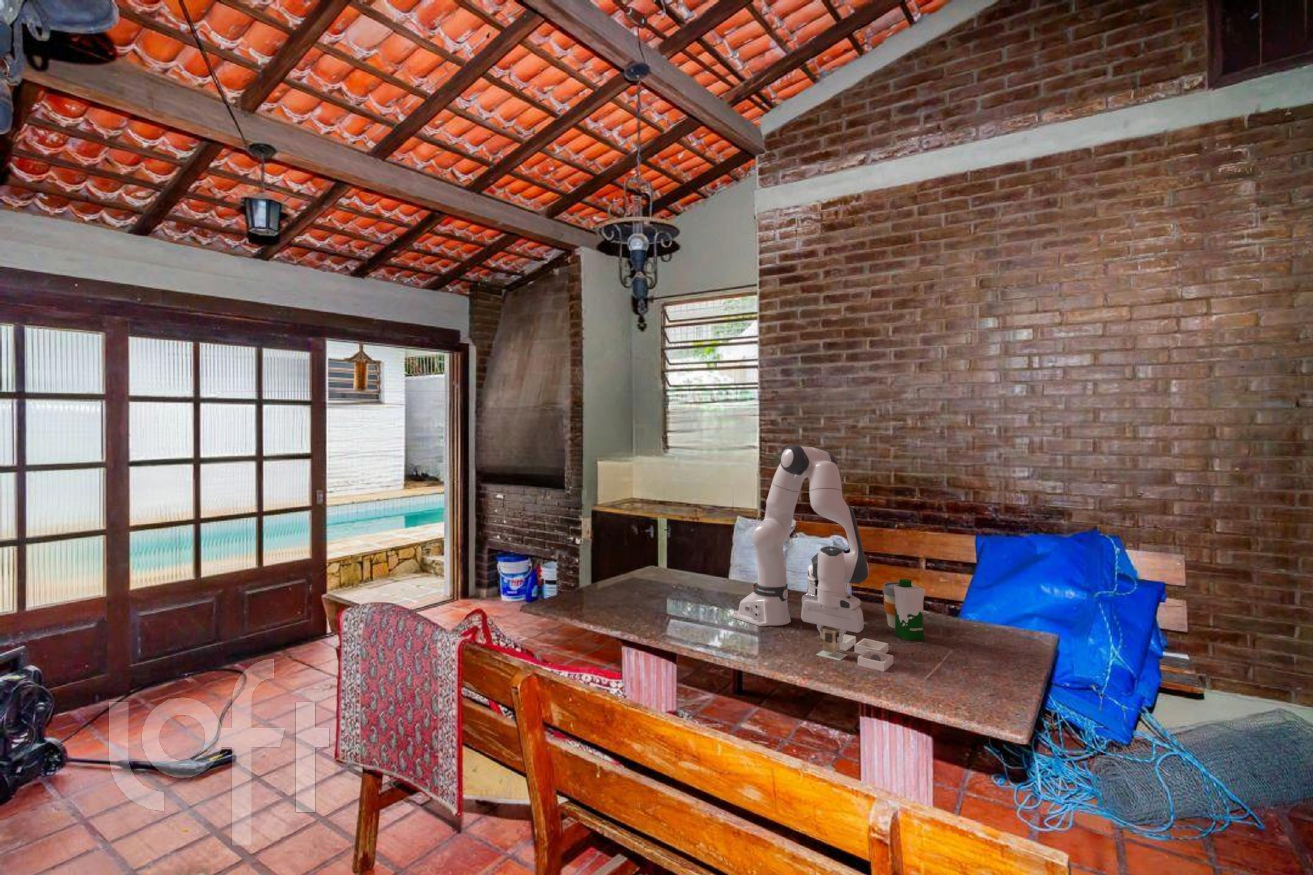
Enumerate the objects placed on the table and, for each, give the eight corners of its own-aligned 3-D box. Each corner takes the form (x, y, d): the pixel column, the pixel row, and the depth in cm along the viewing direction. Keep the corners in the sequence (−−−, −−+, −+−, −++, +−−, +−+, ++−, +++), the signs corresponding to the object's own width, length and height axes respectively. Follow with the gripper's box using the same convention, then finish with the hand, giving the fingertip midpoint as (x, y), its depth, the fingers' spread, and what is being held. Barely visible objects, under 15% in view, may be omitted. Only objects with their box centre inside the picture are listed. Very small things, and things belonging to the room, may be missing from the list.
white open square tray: (823, 646, 211) (823, 637, 211) (833, 640, 218) (833, 631, 218) (846, 651, 206) (846, 642, 206) (855, 645, 213) (855, 636, 212)
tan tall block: (822, 650, 202) (822, 629, 202) (828, 647, 205) (828, 626, 205) (834, 653, 199) (834, 631, 199) (840, 649, 202) (839, 628, 202)
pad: (816, 656, 202) (816, 654, 202) (823, 651, 207) (823, 649, 207) (839, 662, 197) (839, 660, 197) (847, 656, 202) (847, 654, 202)
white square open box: (857, 666, 194) (857, 656, 193) (867, 658, 200) (867, 649, 200) (884, 672, 188) (884, 663, 188) (893, 664, 195) (893, 655, 195)
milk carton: (911, 632, 225) (911, 577, 225) (928, 640, 216) (928, 583, 216) (890, 635, 223) (890, 579, 222) (907, 643, 214) (907, 585, 214)
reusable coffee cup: (919, 622, 236) (919, 583, 236) (918, 632, 225) (918, 591, 225) (884, 618, 242) (884, 580, 241) (881, 628, 230) (881, 588, 230)
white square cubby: (854, 653, 204) (854, 644, 204) (863, 647, 211) (863, 638, 211) (879, 659, 199) (879, 650, 199) (888, 652, 206) (888, 643, 205)
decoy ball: (868, 664, 194) (868, 654, 194) (872, 661, 196) (872, 652, 196) (878, 666, 192) (878, 657, 192) (882, 663, 194) (882, 654, 194)
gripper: (797, 594, 206) (797, 635, 206) (857, 605, 193) (857, 649, 193) (806, 590, 211) (806, 630, 211) (865, 600, 198) (865, 643, 198)
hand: (831, 639), depth 202 cm, fingers closed on tan tall block, 4 cm apart
